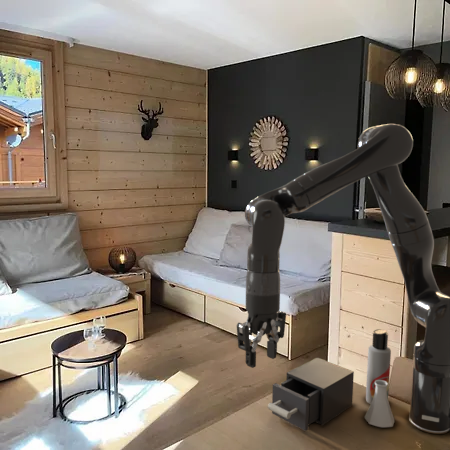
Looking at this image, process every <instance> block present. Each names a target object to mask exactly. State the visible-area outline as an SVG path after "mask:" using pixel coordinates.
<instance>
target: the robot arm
mask: <svg viewBox="0 0 450 450" xmlns="http://www.w3.org/2000/svg"><path fill="white" fill-rule="evenodd" d="M413 147H414V139H413V136H412V134H411V132H410V131H409V130H408V129H407V128H406V127H405V126H404V125H401V124H396V123H387V124H381V125H375V126H371V127H368V128H367V129H365V130H363V131H362V133H361V134H360V136H359V137H358V139H357V148H356V149H355V150H353V151H350V152H349V153H347V154H345V155H343V156H340V157H337V158H336V159H333V160H331V161H329V162H325V163H323V164H321V165H319V166H317V167H314V168H312V169H310V170H308V171H306V172H305V173H303V174H301V175H299V176H298V177H295V178H294V179H292V180H291V181H289V182H287V183H286V184H284V185H282V186H280V187H277V188H275V189H273V190H270V191H267V192H265V193H263V194H261V195H259V196H257V197H255V198H253V199H252V200H251V201H250V202H249V203H248V204H247V206H246V207H245V211H244V218H245V221H246V223H247V224H248V225H249V226H250V227H251V228H252V234H251V243H250V244H249V245H248V247H247V257H246V259H247V261H246V276H245V310H246V312H247V318H246V321H244V322H243V323H242V322H237V323H236V334H237V347H238V349H240V350H242V351H245V364H246V366H247V367H250V368H251V369H254V368H256V366H257V348H258V344H259V343H261V341H262V339H263V336H266V338H267V340H266V357H268V358H270V359H272V360H274V359H276V358H277V353H278V343H279V341H280V339H283V338H284V337H285V330H286V320H287V313H286V311H285V312H284V311H282V310H280V309H281V308H280V307H281V275H280V274H281V273H280V262H281V261H280V256H281V255H280V254H281V253H280V250H281V246H282V243H283V237H284V231H285V227H286V225H285V224H286V219H285V218H286V217H287V216H289V215H291V214H297V213H298V214H299V213H303V212H305V211H307V210H308V209H310V208H312V207H313V206H315V205H317V204H318V203H320V202H322V201H324V200H325V199H327V198H329V197H330V196H333V195H335V194H336V193H337V192H340V191H341V190H342V189H343V190H344V189H345V188H346V187H349V186H350V185H352V184H354V183H356V182H359V181H360V180H362V179H364V178H367V177H368V179H369V182H370V184H371V186H372V189H373V191H374V194H375V197H376V200H377V203H378V206H379V210H380V212H381V215H382V219H383V221H384V224H385V229H386V232H387V234H388V238H389V240H390V243H391V246H392V250H393V252H394V254H395V257H396V261H397V264H398V266H399V269H400V272H401V275H402V278H403V281H404V286H405V292H406V296H407V301H408V305H409V310H410V313H411V315H412V318H414V320H415V322H417V323H418V324H419V325H420V326H422V327H424V328H425V333H424V339H421V340H418V341H416V342H415V344H414V346H413V360H412V375H411V376H412V377H411V388H410V389H411V391H410V404H409V407H410V408H409V416H408V420H409V422H410V424H411V425H412V426H413V427H414V428H416V429H418V430H420V431H422V432H424V433H428V434H433V435H444V434H447V433H449V432H450V296H449V295H447V294H445V293H443V292H441V290H440V288H439V286H438V285H437V282H436V278H435V276H434V273H433V269H432V262H433V261H432V260H433V255H434V249H435V238H434V234H433V231H432V228H431V224H430V221H429V218H428V216H427V213H426V210H425V209H424V208H423V206H422V205H421V204H420V202H419V201H418V199H417V198H416V196H415V195H414V194H413V192H411V190H410V189H409V187H408V186H407V185H406V183H405V182H404V179H403V176H402V174H401V172H400V167H399V165H400V164H401V163H403V162H405V161H406V160H407V159H408V157H410V155H411V153H412V150H413ZM253 335H255V336H253Z"/></svg>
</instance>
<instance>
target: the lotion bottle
mask: <svg viewBox="0 0 450 450" xmlns="http://www.w3.org/2000/svg"><path fill="white" fill-rule="evenodd" d="M388 342H389V333H388V332H387V330H385V329H380V328H379V329H374V330H373V332H372V344H371V345H369V346H368V349H367V367H366V368H367V369H366V384H365V385H366V387H365V401H366V403H367V404H369V405H370V404H371V402H372V400H373V397H374V394H375V389H376V385H375V381H376V380H383V381H386V382H387V383H388V386H387V398H388V399H389V393H390V392H389V391H390V390H389V389H390V376H391V375H390V373H391V359H392V350H391V348H390V347H389V346H388Z"/></svg>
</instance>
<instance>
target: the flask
mask: <svg viewBox="0 0 450 450" xmlns="http://www.w3.org/2000/svg"><path fill="white" fill-rule="evenodd" d="M375 385H376V389H375V394H374V397H373V400H372V402H371V404H369V407H368V409H367V411H366V413H365V415H364V419H365V421H366V422H368V424H369V425H372V426H375V427H378V428H393V427H394V423H395V417H394V415H393V412H392V409H391V406H390V402H389V397H388V398H387V386H388V383H387V382H386V381H383V380H376V381H375Z"/></svg>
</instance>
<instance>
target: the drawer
mask: <svg viewBox="0 0 450 450" xmlns="http://www.w3.org/2000/svg"><path fill="white" fill-rule="evenodd" d="M271 393H272V397H271V398H272V400H271V401H272V402H269V403H268V404H267V409H268V410H269V411H271V413H272V415H274V416H276V417H279V418H280V419H281V420H283V421H285V422H287V423H289V424H291V425H293V426H294V427H297V428H298V429H300V430H302V431H304V432H306V431H308V430H309V425H311V424H313V423H314V422H315V420H317V419H319V418H320V408H321V390H318V389H316V388H314V387H312V386H309V385H307V384H305V383H303V382H300V381H298V380H296V379H294V378H290V379H288V380H285V381H282V382H281V383H280V384H279V383H277V382H275V383H273V384H272V392H271Z"/></svg>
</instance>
